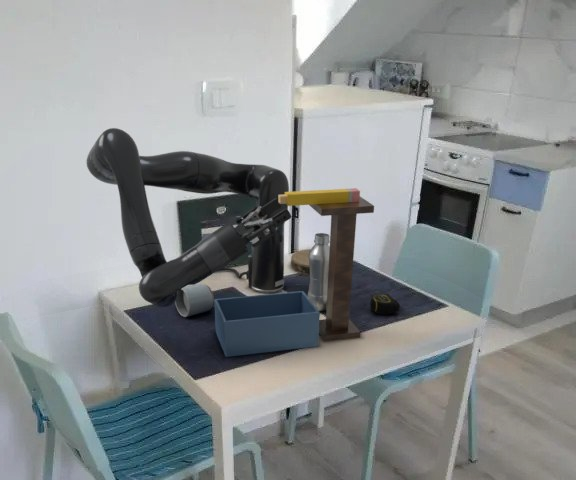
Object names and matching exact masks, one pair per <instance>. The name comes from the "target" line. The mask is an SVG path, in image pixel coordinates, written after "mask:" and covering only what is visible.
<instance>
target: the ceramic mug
mask: <svg viewBox="0 0 576 480" xmlns="http://www.w3.org/2000/svg"><path fill="white" fill-rule="evenodd" d="M214 299H215V295H214V293H213V290H212V288H211V287H210V286H209V285H208V284H206V283H204V284H203V283H197V284H194V285H187V286H185V287H183V288H182V289H180V290H178V295H177V298H176V300H175V302H174V303H175V307H176V310H177V312H178V313H179V315H180V316H181V317H183V318H189V317H192V316H195V315H199V314H203V313H207V312H208V311H210V310H212V309H213V307H214Z"/></svg>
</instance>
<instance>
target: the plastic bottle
mask: <svg viewBox="0 0 576 480" xmlns="http://www.w3.org/2000/svg"><path fill="white" fill-rule="evenodd" d="M313 243H314V244H313V246H312V247H311V248H310V249H311V250H310V251H309V254H308V259H309V267H310V275H309V285H308V291H307V294H306V295H307V297H308V298H309V299H310V300H311V302H312V303H313V304H314V306H315V307H316V308H317V309H318V311H319V312H323V311H326V308H327V289H328V270H329V251H330V233H325V232H317V233H315V234H314V239H313Z"/></svg>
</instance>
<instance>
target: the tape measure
mask: <svg viewBox="0 0 576 480" xmlns="http://www.w3.org/2000/svg"><path fill="white" fill-rule="evenodd" d="M369 307H370V309H371V310H372V312H375V313H377V314H380V315H389V314H393V313H397V312H399V311H400V309H401V305H400V303H399V301H397V300H396V299H395V298H393V297H392V296H391V295H390V294H389V293H385V294H375V295H373V296H372V297H371V298H370V303H369Z"/></svg>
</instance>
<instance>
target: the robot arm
mask: <svg viewBox="0 0 576 480" xmlns="http://www.w3.org/2000/svg"><path fill="white" fill-rule="evenodd" d="M86 167H87V170H88V171H89V173H90V174H91V175H92V176H93V178H94V179H96V180H97V181H98V180H99V181H100V182H103V183H104V184H109V185H115V186H117V190H118V194H119V195H118V196H119V203H120V204H119V205H120V220H121V227H122V233H123V237H124V240H125V244H126V247H127V250H128V253H129V255H130V258H131V260H132V262H133V264H134V266H135V267H136V268H137V269H138V271H139V273H140V276H141V279H140V280H139V285H138V292H139V294H140V296H141V298H142V299H143V300H144V301H145V302H148V304H149V303H150V304H152V305H153V306H156V307H158V308H168V307H170V306H172V305H173V304H174V303H175V300H176V298H177V295H178V290H180V289H182V288H183V287H185V286H192V285H197V284H200V283H201V282H203V281H204V280H205V279H207V278H208V277H210V276H211V275H213V274H215V273H216V272H223V271H227V272H233V273H234V274H235V276H236V278H237V279H242V277H243V276H245V275H246V277H245V278H246V280H248V281H247V283H248V288H249V289H251V290H252V291H254V292H258V293H262V294H275V293H279V292H281V291H283V290H284V288H285V275H284V274H285V223H286V222H287V221H289V220H290V219H292V215H291V212H290V211H289V206H287V205H286V204H280V203H279V202H278V195H283V194H285V192H290V184H289V179H288V177H287V174H286V173H285V172H284V171H282V170H280V169H278V168H275V167H272V166H269V165H265V164H253V163H252V164H250V163H249V164H247V163H235V162H231V161H227V160H225V159H222V158H219V157H216V156H212V155H209V154H205V153H200V152H193V151H189V150H180V151H179V150H178V151H172V152H166V153H161V154H155V155H140V153H139V149H138V146H137V144H136V142H135V140H134V138H133V137H132V136H131V135H130V134H129V133H127V131H124V130H123V129H121V128H118V127H117V128H116V127H110V128H108V129H106V130H104V131H102V133H101V134H100V135H99V136H98V138H97V139H96V141H95V142H94V144H93V146H92V147H91V149H90V150H89V152H88V154H87V158H86ZM146 187H155V188H161V189H169V190H178V191H182V192H187V193H195V194H205V195H212V194H220V193H232V194H237V195H241V196H244V197H247V198H250V199H253V200H255V201H257V202H258V205H255V206H253V207H252V208H250V209H249V210H248V211H246V212H244V213H243V214H242V215H240V216H238V217H237V218H236V219H235V223H236V226H235V227H234V224H233V223H232V222H230V221H229V222H227V223H225V224H224V225H222V226H220V227H219V228H217V229H216V230H215V231H213V232H212V233H209V234H208V235H207V236H205V237H204V238H203V239H201V240H200V241H199V242H198V243H197V244H195V246H192V247H191V248H190V249H188V250H187V251H185V252H183V253H182V254H180V255H179V256H178V257H176V258H174V259H171V260H168V261H167V259H166V257H165V255H164V251H163V246H162V245H161V242H160V239H159V236H158V232H157V230H156V227H155V223H154V220H153V217H152V212H151V210H150V206H149V201H148V197H147V192H146ZM248 244H250V254H248V252H249V249H248V247H247V245H248ZM246 254H248V256H247V270H246V271H243V272H240V273H239V272H238V271H237V269H235V268H230V267H227V266H229V265H230V264H232V263H233V262H235V261H236V260H238V259H239V258H241V257H242V256H244V255H246Z"/></svg>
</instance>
